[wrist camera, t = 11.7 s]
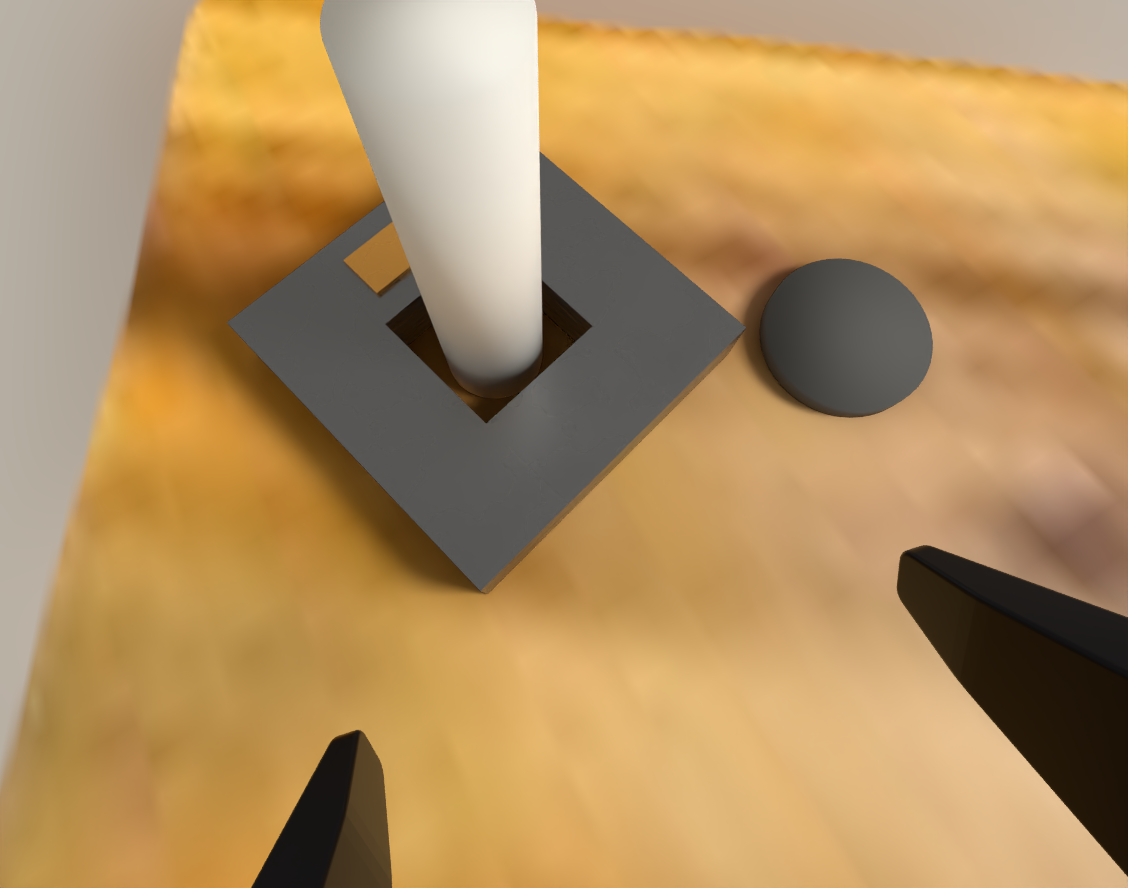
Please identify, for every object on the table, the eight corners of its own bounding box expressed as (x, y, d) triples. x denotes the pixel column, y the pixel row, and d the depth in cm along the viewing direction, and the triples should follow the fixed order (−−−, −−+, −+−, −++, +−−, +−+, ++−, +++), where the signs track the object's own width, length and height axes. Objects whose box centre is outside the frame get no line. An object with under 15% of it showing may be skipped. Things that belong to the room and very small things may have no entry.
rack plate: (487, 594, 23) (479, 590, 20) (257, 350, 26) (224, 320, 23) (727, 354, 26) (747, 325, 23) (500, 157, 29) (496, 110, 26)
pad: (856, 451, 25) (865, 445, 24) (726, 339, 26) (731, 330, 25) (953, 341, 27) (965, 333, 26) (826, 240, 28) (834, 229, 27)
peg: (523, 411, 25) (490, 130, 11) (432, 380, 25) (282, 66, 11) (555, 328, 26) (566, -29, 12) (469, 299, 26) (374, -85, 12)
